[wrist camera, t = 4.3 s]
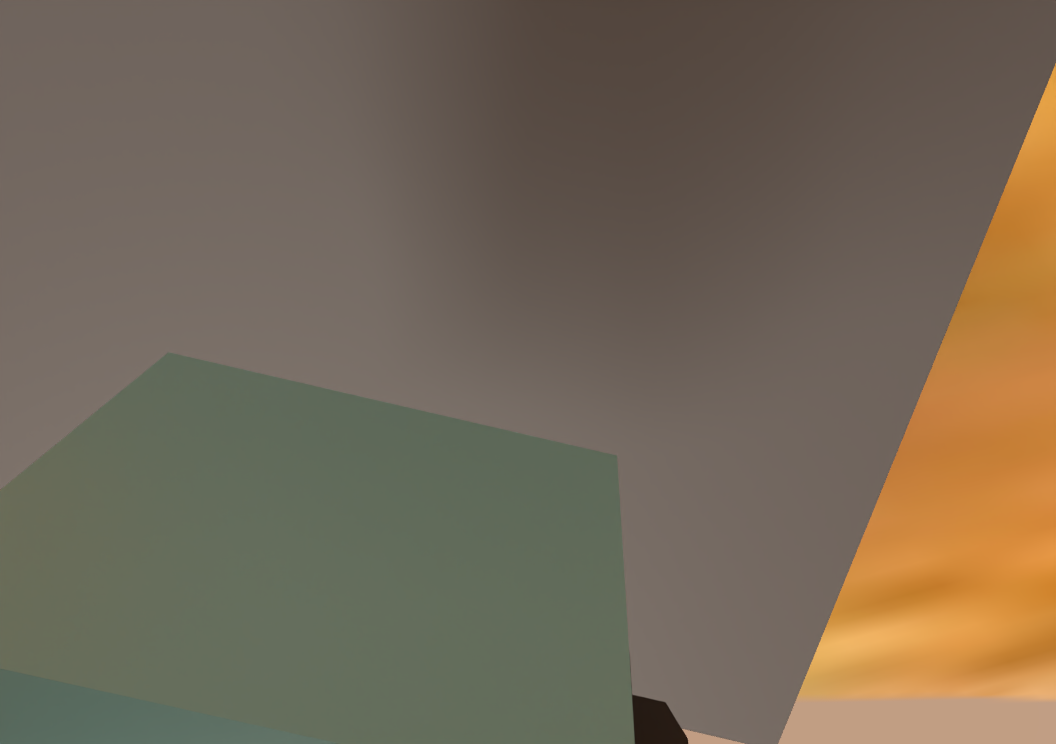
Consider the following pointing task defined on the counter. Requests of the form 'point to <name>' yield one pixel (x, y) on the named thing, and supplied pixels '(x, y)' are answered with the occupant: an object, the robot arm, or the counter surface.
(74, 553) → the block
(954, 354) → the counter surface
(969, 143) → the cabinet
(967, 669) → the counter surface
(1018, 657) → the counter surface
